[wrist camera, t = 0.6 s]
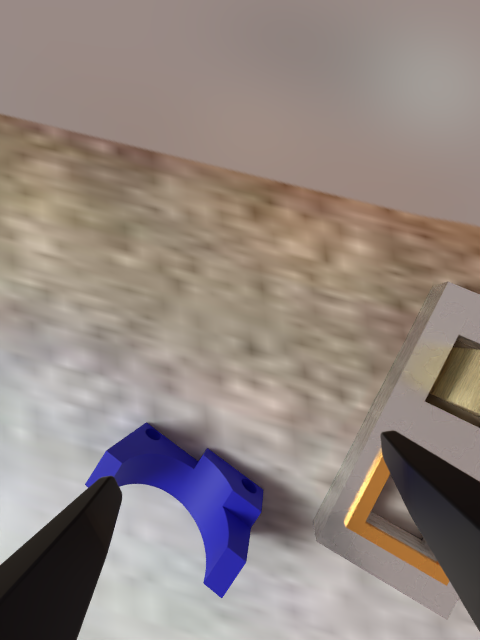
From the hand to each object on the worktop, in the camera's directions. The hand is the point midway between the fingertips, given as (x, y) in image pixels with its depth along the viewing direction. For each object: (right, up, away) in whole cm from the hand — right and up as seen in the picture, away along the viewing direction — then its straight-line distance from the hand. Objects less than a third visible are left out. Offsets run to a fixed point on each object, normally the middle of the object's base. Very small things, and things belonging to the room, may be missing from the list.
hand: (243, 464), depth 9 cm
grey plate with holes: (+15, -4, +12) cm, 20 cm away
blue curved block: (-4, -9, +15) cm, 18 cm away
